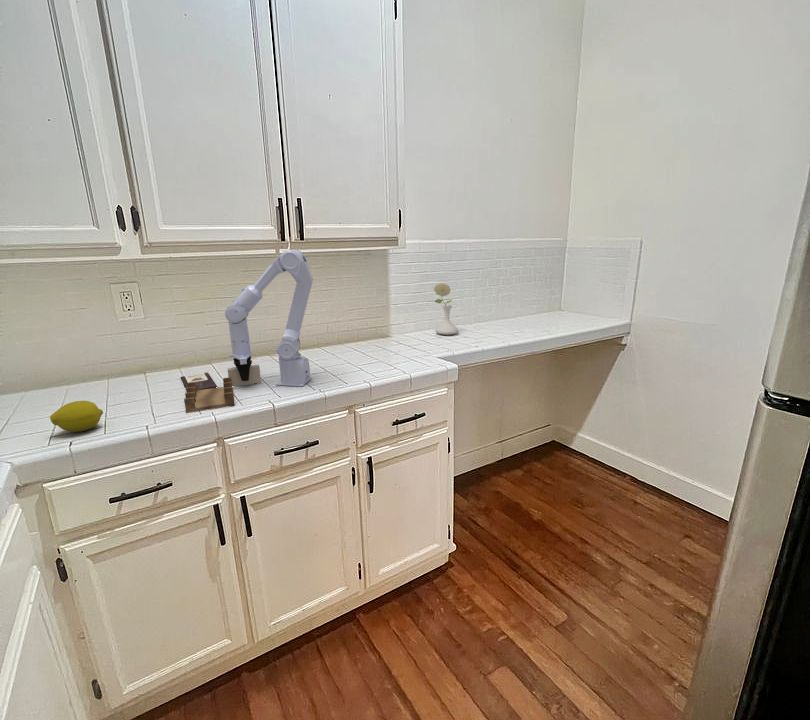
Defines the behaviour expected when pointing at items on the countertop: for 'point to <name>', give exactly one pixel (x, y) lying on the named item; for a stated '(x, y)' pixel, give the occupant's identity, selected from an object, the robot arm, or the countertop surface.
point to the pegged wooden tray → (209, 397)
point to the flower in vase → (445, 311)
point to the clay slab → (253, 376)
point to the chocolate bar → (200, 381)
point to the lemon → (77, 416)
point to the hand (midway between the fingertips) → (244, 379)
